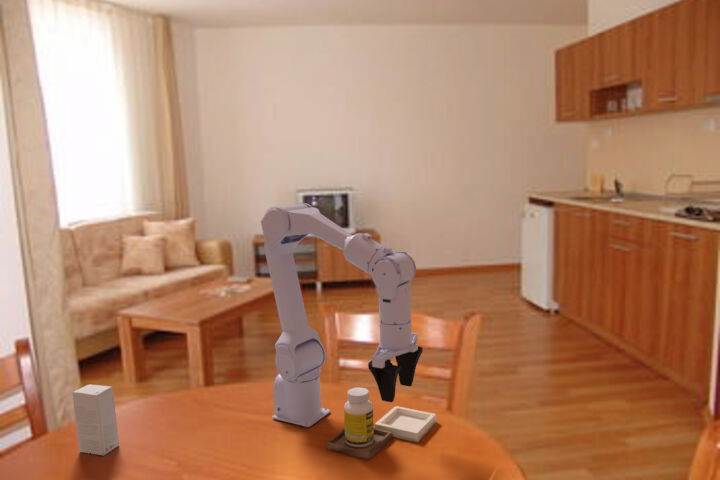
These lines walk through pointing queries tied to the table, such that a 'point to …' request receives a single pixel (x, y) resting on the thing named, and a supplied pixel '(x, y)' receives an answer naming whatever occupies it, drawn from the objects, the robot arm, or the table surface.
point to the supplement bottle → (358, 418)
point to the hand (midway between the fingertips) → (397, 392)
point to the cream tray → (407, 423)
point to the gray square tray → (361, 452)
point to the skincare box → (96, 419)
